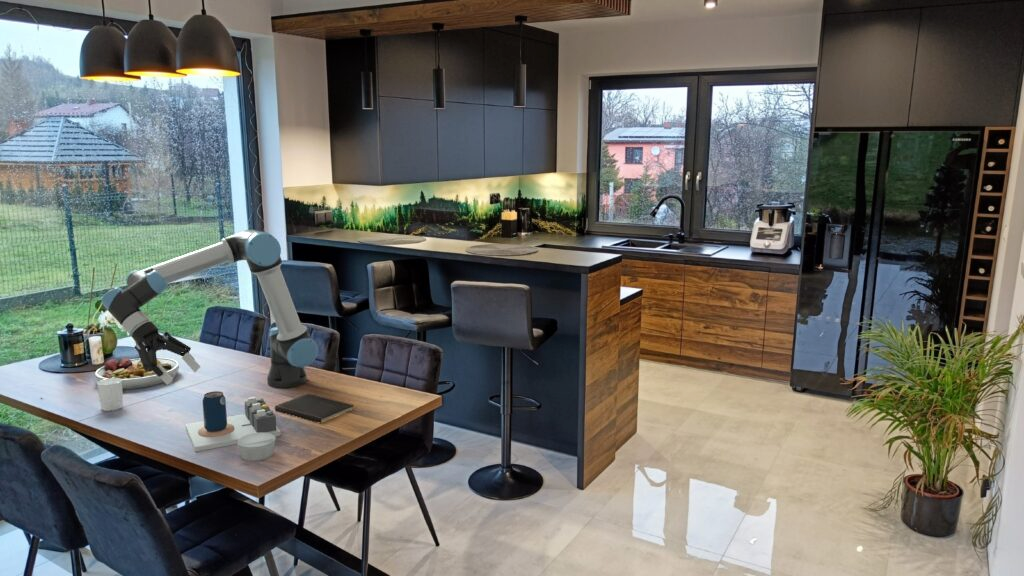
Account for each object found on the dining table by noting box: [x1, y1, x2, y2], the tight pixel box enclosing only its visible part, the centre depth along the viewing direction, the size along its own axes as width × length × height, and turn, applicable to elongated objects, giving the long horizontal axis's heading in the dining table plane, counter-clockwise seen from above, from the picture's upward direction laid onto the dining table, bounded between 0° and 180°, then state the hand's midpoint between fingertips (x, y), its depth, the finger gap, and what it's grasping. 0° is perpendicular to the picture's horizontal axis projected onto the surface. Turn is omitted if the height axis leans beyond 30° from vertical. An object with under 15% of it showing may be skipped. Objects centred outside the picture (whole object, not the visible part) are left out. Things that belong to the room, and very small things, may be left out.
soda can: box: [202, 390, 228, 432], centre depth 236 cm, size 7×7×12 cm
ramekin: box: [236, 433, 277, 462], centre depth 221 cm, size 11×11×5 cm
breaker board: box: [184, 396, 282, 452], centre depth 239 cm, size 26×22×8 cm
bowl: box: [94, 357, 180, 390], centre depth 292 cm, size 30×30×8 cm
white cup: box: [96, 378, 124, 412], centre depth 260 cm, size 8×8×10 cm
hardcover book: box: [274, 393, 354, 424], centre depth 260 cm, size 16×23×2 cm
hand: (184, 375), depth 238 cm, fingers open, 13 cm apart
